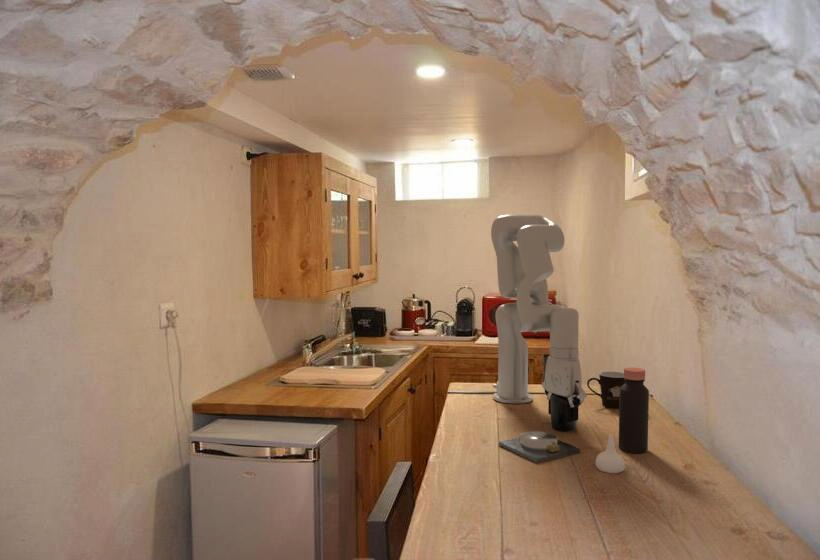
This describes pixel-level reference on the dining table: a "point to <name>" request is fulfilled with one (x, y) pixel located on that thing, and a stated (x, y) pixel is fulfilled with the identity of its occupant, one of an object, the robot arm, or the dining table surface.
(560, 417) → the supplement bottle
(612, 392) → the coffee mug
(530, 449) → the dish on grey tray
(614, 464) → the garlic bulb
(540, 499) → the dining table surface
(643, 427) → the vinegar
